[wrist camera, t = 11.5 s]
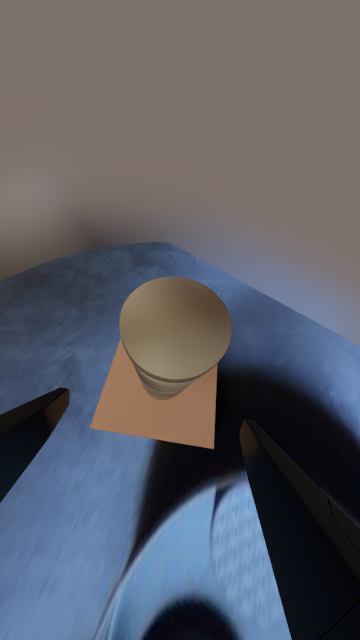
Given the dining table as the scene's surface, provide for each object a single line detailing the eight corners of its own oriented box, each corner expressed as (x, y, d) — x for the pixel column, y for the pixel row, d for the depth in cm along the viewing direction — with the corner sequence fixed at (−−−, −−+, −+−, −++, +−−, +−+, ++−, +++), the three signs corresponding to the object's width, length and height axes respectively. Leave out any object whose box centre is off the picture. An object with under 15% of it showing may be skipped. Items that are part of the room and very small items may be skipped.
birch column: (195, 383, 19) (255, 339, 8) (154, 410, 17) (153, 407, 6) (172, 345, 21) (192, 264, 9) (133, 367, 19) (99, 298, 7)
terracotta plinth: (212, 343, 25) (218, 335, 22) (205, 443, 19) (213, 448, 16) (131, 328, 24) (127, 318, 22) (99, 425, 18) (89, 428, 16)
